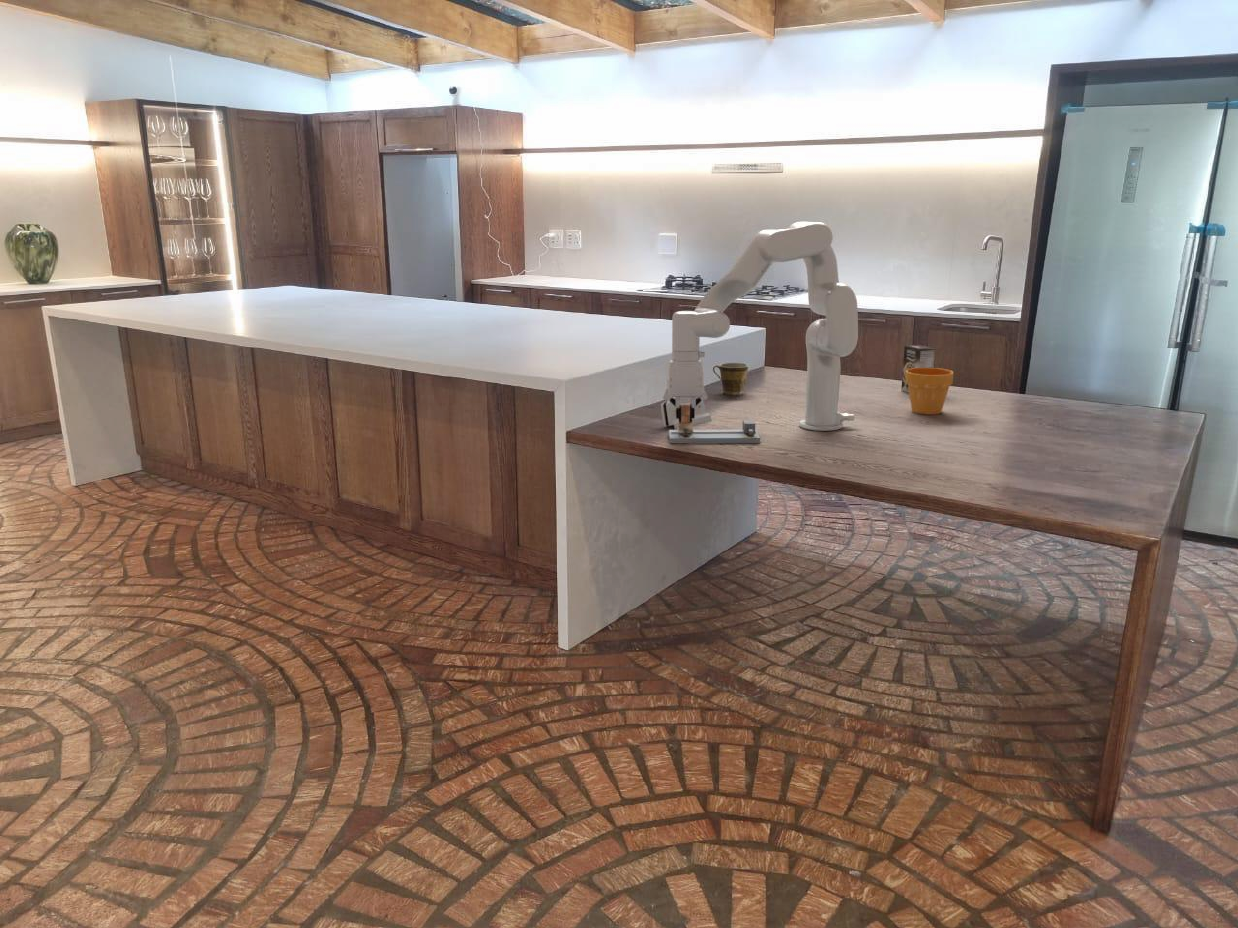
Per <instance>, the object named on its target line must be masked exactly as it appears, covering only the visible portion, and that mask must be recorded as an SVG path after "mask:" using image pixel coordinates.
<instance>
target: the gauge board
mask: <svg viewBox="0 0 1238 928" xmlns="http://www.w3.org/2000/svg"><path fill="white" fill-rule="evenodd" d="M668 440H669V444H670V443H690V444H760V443H761V437H760V435H759V433H758V430H757V429H756V422H755V419H742V429H732V428H731V429H730V428H729V429H728V428H726V429H723V428H722V429H693V432H688V434H687V436H685V434H684V432H682V433H679V432H678V429H669V430H668Z"/></svg>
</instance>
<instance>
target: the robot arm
mask: <svg viewBox="0 0 1238 928" xmlns="http://www.w3.org/2000/svg"><path fill="white" fill-rule="evenodd" d="M833 236H834V235H833V232H832V230H831V228H830V227H829V226H828V225H827V224H826V223H823V222H819V221H816V222H815V221H797V222H794V223H792V224H790V225H789V226H788V227H787V228H784V229H762V230H760V231H758V232H757V233H756V234H755V235H754V236H753V237H752V239H750V241H749V243H748V244H747V246H746V247H745V248H744V250H743V252H742V253H741V254H740V256H739V257H738V259H737V260H736V262H735V263H734V265H732V267H731V268H730V270H729V271H728V272H727V273H726V274H725V275H724V276H723V277H722V278H720V279H719V280H717V281H718V282H716V283H715V284H714V285H713V286H712V287H711V288H710V289H709V290H708V291H707V292H706V293H705V294H704V296H703V297H702V298H701V300H700V301H699V303H698V304H697V306H696V307H695V309H694V311H693V310H679V311H675V312H674V313H673V315H672V316H671V317H672V318H671V319H672V325H671V326H672V327H671V328H672V334H671V337H672V338H671V339H672V340H671V341H672V343H671V344H672V346H671V353H672V354H671V360H669V363H668V367H667V379H666V381H667V382H666V383H667V384H666V389H665V392H664V393H663V396H662V399H663V400H665V401H670V402H671V403H672V404H673V405H674V406H675V407H676V419H678V420H679V422H681V405H680V397H691V404H690V422H692V418H695V407H696V406H697V405H698V404H699V403H700V402H701V401H703V402H704V401H705V400H708V399H709V396H708V394H707V391H706V389H705V383H704V382H705V381H704V365H703V362H702V359H701V358H702V357H704V358H705V355H706V354H705V351H701V350H700V338H710V339H717V338H718V339H719V338H721V337H723V336H725V335H726V334H727V333H728V332H729V330H730V328H731V321H730V318H729V317H728V315H727V314H726V313H724V312H725V310H726V309H727V308H728V307H729V306H730V305H732V303H733V302H734V301H736V300H737V299H740V298H741V297H744V296H746V295H748V294H750V293H752V292H753V291H754V290H755V289H756V287H757V286H758V285H759V283H760V282H761V281H762V279H763V277H764V276H765V275H766V273H767V272H768V270H769V269H770V268H771V266H772V265H773V264H774V263H785V262H786V263H787V262H793V261H796V260H801V259H802V260H803V261H804V264H805V267H806V275H807V294H808V295H807V299H808V306H809V308H810V310H811V311H812V312H813V313H815V314H817V315H820V316H824V317H825V318H820V319H816V320H815V321H813V322H811V324H809V326H808V328H807V329H806V332H805V345H806V356H807V357H806V358H807V361H806V362H807V366H806V367H807V369H806V386H805V389H806V390H805V409H804V410H805V411H804V418H803V419H801V420H799V423H798V425H799V427H801V428H803V429H806V430H811V431H817V432H818V431H820V432H823V431H824V432H825V431H829V432H830V431H837V430H841V429H843V426H844V424H843V422H845V421H848V422H854V421H855V414H852V413H851V414H850V413H841V412H840V411H839V406H840V405H839V402H840V383H841V370H842V367H841V359H840V358H841V357H842V358H843V357H847V356H849V355H851V354H852V353H853V352H854V350H855V349H856V347H857V346H858V345H857V344H858V341H859V340H858V339H859V321H858V319H859V318H858V317H859V315H858V312H859V311H858V300H857V297H856V293H855V292H854V290H853V289H852V287H850V286H849V285H848V284H846V283H840V282H839V280H840V279H839V271H838V261H837V258H836V257H837V256H836V253H835V251H834V249H833V247H832V243H833ZM673 397H675V399H674V398H673ZM696 397H697V398H696Z"/></svg>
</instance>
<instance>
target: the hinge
mask: <svg viewBox="0 0 1238 928" xmlns="http://www.w3.org/2000/svg"><path fill="white" fill-rule="evenodd" d="M673 398H674V399H675V397H673ZM696 398H697V397H696ZM681 404H691V397H680V405H681ZM660 410H661V418H662V423H663V424H662V425H663V428H667V427H671V426H673V427H674V430H678V419H676V407H675V406H674V405H673V404H672V403H671V402H670V401H667V400H665V401H664V402H663V403H661V405H660ZM711 421H713V419H712V415H711V414H710V413H709V412H708V411H707V408H706V406H705V402H704V400H703V401H701V402H700V403H699V404H698V405H697V406H696V407H695V418H692V423H693V426H695V425H699V424H703V423H704V424H705V423H708V422H711Z"/></svg>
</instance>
